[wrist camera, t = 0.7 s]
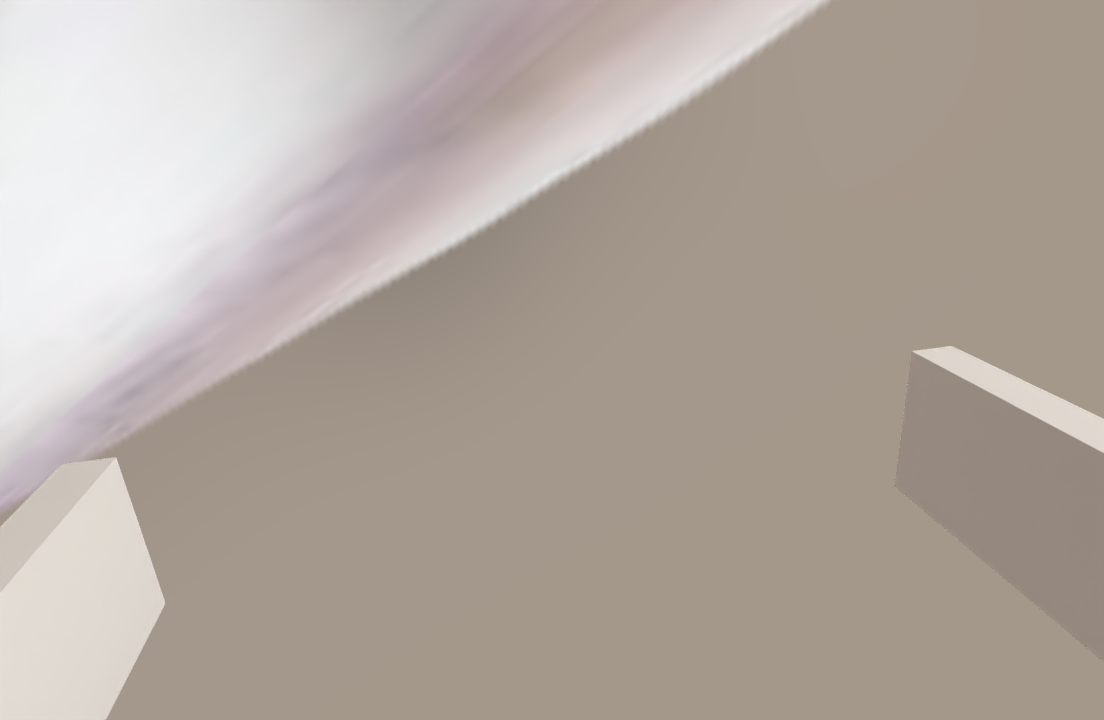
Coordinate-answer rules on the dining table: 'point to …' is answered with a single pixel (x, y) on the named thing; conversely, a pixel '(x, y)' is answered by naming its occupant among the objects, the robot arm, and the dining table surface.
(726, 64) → the dining table surface
